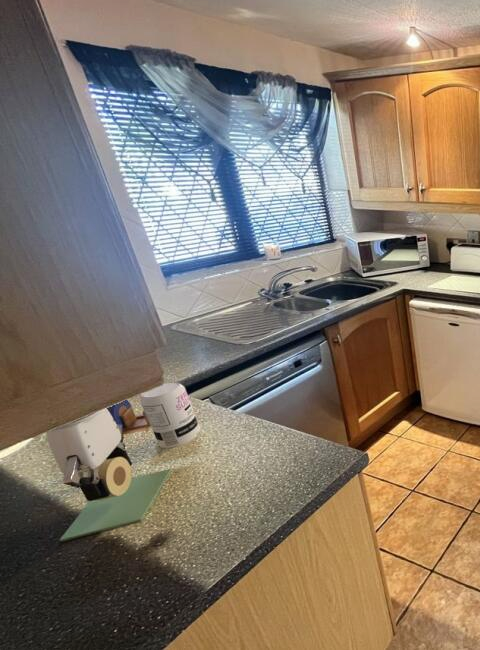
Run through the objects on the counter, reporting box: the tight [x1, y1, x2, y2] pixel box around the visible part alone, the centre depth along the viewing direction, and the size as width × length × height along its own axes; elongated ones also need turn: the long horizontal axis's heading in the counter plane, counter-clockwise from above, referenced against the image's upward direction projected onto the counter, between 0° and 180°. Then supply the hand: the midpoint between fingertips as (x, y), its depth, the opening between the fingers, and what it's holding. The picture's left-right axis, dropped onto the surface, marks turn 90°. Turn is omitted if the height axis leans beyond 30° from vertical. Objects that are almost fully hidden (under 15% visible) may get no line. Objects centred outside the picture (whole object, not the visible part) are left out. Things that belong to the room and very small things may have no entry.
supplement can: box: [139, 380, 201, 449], centre depth 94 cm, size 8×8×15 cm
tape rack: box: [122, 406, 151, 436], centre depth 101 cm, size 10×9×5 cm
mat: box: [59, 468, 172, 543], centre depth 79 cm, size 12×14×1 cm
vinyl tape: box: [107, 399, 132, 428], centre depth 99 cm, size 3×8×8 cm, turn 21°
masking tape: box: [86, 457, 132, 501], centre depth 76 cm, size 3×8×8 cm, turn 21°
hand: (111, 481), depth 77 cm, fingers closed on masking tape, 7 cm apart
